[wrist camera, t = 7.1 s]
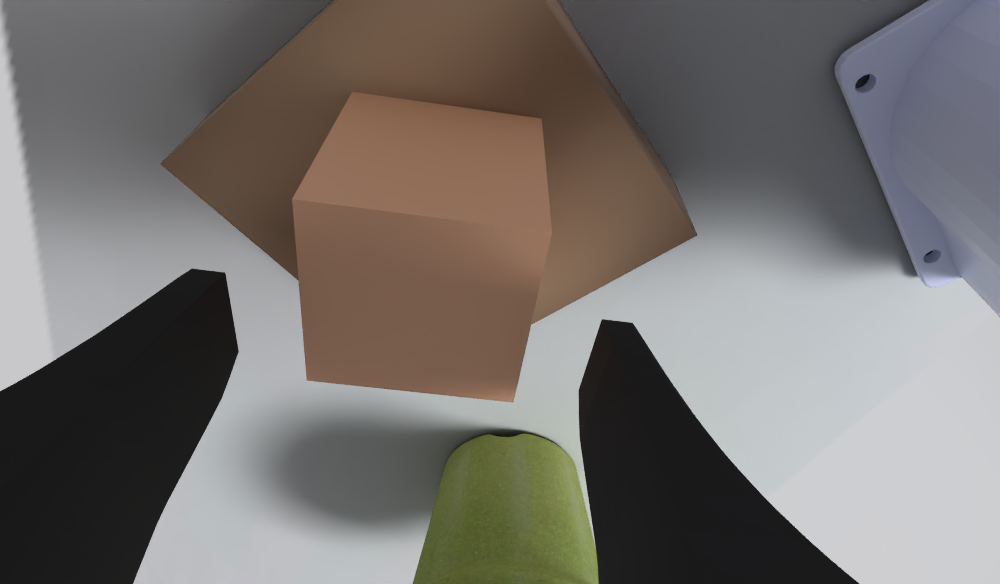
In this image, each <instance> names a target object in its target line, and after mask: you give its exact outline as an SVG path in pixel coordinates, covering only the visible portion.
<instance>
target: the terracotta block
mask: <svg viewBox="0 0 1000 584" xmlns="http://www.w3.org/2000/svg"><path fill="white" fill-rule="evenodd" d="M292 205H293V217H294V229H295V241H296V254H297V266H298V278H299V290H300V303H301V315H302V327H303V339H304V352H305V364H306V376H307V380H308V381H317V382H327V383H336V384H345V385H355V386H364V387H374V388H383V389H392V390H402V391H411V392H420V393H430V394H439V395H449V396H458V397H467V398H477V399H486V400H495V401H505V402H514V397H515V393H516V388H517V384H518V380H519V375H520V371H521V367H522V362H523V358H524V353H525V349H526V345H527V340H528V336H529V331H530V327H531V323H532V318H533V314H534V310H535V305H536V301H537V296H538V292H539V288H540V283H541V279H542V275H543V270H544V266H545V261H546V257H547V253H548V248H549V244H550V239H551V235H552V225H551V214H550V204H549V193H548V182H547V171H546V160H545V149H544V138H543V127H542V119H541V118H534V117H527V116H520V115H513V114H506V113H499V112H492V111H485V110H478V109H471V108H463V107H456V106H449V105H442V104H435V103H428V102H421V101H414V100H407V99H400V98H393V97H386V96H378V95H371V94H364V93H357V92H352V93H351V95H350V97H349V99H348V100H347V102H346V104H345V106H344V107H343V109H342V111H341V113H340V115H339V116H338V118H337V120H336V122H335V123H334V125H333V127H332V129H331V131H330V132H329V134H328V136H327V138H326V140H325V141H324V143H323V145H322V147H321V148H320V150H319V152H318V154H317V156H316V157H315V159H314V161H313V163H312V164H311V166H310V168H309V170H308V172H307V173H306V175H305V177H304V179H303V180H302V182H301V184H300V186H299V188H298V189H297V191H296V193H295V195H294V197H293V198H292Z"/></svg>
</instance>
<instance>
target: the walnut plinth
mask: <svg viewBox="0 0 1000 584" xmlns="http://www.w3.org/2000/svg"><path fill="white" fill-rule="evenodd" d="M352 92H357V93H364V94H371V95H378V96H386V97H393V98H400V99H407V100H414V101H421V102H428V103H435V104H442V105H449V106H456V107H463V108H471V109H478V110H485V111H492V112H499V113H506V114H513V115H520V116H527V117H534V118H541V119H542V127H543V138H544V149H545V160H546V171H547V182H548V193H549V204H550V214H551V225H552V235H551V239H550V244H549V248H548V253H547V257H546V261H545V266H544V270H543V275H542V279H541V283H540V288H539V292H538V296H537V301H536V305H535V310H534V314H533V318H532V323H531V324H533V323H535V322H537V321H539V320H541V319H543V318H544V317H546V316H548V315H550V314H552V313H554V312H556V311H557V310H559V309H561V308H563V307H565V306H567V305H569V304H570V303H572V302H574V301H576V300H578V299H580V298H582V297H583V296H585V295H587V294H589V293H591V292H593V291H595V290H596V289H598V288H600V287H602V286H604V285H606V284H608V283H609V282H611V281H613V280H615V279H617V278H619V277H621V276H622V275H624V274H626V273H628V272H630V271H632V270H634V269H635V268H637V267H639V266H641V265H643V264H645V263H647V262H648V261H650V260H652V259H654V258H656V257H658V256H660V255H661V254H663V253H665V252H667V251H669V250H671V249H673V248H674V247H676V246H678V245H680V244H682V243H684V242H686V241H687V240H689V239H691V238H693V237H695V236H697V233H696V231H695V229H694V226H693V224H692V222H691V219H690V217H689V215H688V212H687V210H686V208H685V205H684V203H683V201H682V198H681V196H680V194H679V191H678V189H677V187H676V184H675V182H674V180H673V179H672V177H671V176H670V174H669V173H668V171H667V169H666V168H665V166H664V165H663V163H662V162H661V160H660V158H659V157H658V155H657V154H656V152H655V151H654V149H653V148H652V146H651V144H650V143H649V141H648V140H647V138H646V137H645V135H644V133H643V132H642V130H641V129H640V127H639V126H638V124H637V122H636V121H635V119H634V118H633V116H632V115H631V113H630V112H629V110H628V108H627V107H626V105H625V104H624V102H623V101H622V99H621V97H620V96H619V94H618V93H617V91H616V90H615V88H614V86H613V85H612V83H611V82H610V80H609V79H608V77H607V76H606V74H605V72H604V71H603V69H602V68H601V66H600V65H599V63H598V61H597V60H596V58H595V57H594V55H593V54H592V52H591V50H590V49H589V47H588V46H587V44H586V43H585V41H584V39H583V38H582V36H581V35H580V33H579V32H578V30H577V29H576V27H575V25H574V24H573V22H572V21H571V19H570V18H569V16H568V14H567V13H566V11H565V10H564V8H563V7H562V5H561V3H560V2H559V0H332V1H331V2H330V3H329V4H328V5H327V6H326V7H325V8H324V9H323V10H322V11H321V12H319V13H318V14H317V15H316V16H315V17H314V18H313V19H312V20H311V21H310V22H309V23H308V24H306V25H305V26H304V27H303V28H302V29H301V30H300V31H299V32H298V33H297V34H296V35H295V36H293V37H292V38H291V39H290V40H289V41H288V42H287V43H286V44H285V45H284V46H283V47H282V48H281V49H279V50H278V51H277V52H276V53H275V54H274V55H273V56H272V57H271V58H270V59H269V60H268V61H266V62H265V63H264V64H263V65H262V66H261V67H260V68H259V69H258V70H257V71H256V72H255V73H254V74H252V75H251V76H250V77H249V78H248V79H247V80H246V81H245V82H244V83H243V84H242V85H241V86H239V87H238V88H237V89H236V90H235V91H234V92H233V93H232V94H231V95H230V96H229V97H228V98H227V99H225V100H224V101H223V102H222V103H221V104H220V105H219V106H218V107H217V108H216V109H215V110H214V111H212V112H211V113H210V114H209V115H208V116H207V117H206V118H205V119H204V120H203V121H202V122H201V123H200V124H199V125H198V126H197V127H196V128H195V129H194V130H193V131H192V132H191V133H190V134H189V135H188V136H187V137H186V138H185V139H184V140H183V141H182V142H181V143H180V144H179V145H178V146H177V148H176V149H175V150H174V151H173V152H172V153H171V154H170V155H169V156H168V157H167V158H166V159H165V160H164V161H163V162H162V163H161V165H162V166H164V167H165V168H166V169H167V170H168V171H169V172H171V173H172V174H173V175H174V176H175V177H177V178H178V179H179V180H180V181H181V182H182V183H184V184H185V185H186V186H187V187H188V188H190V189H191V190H192V191H193V192H194V193H196V194H197V195H198V196H199V197H200V198H201V199H203V200H204V201H205V202H206V203H207V204H209V205H210V206H211V207H212V208H213V209H214V210H216V211H217V212H218V213H219V214H220V215H222V216H223V217H224V218H225V219H226V220H227V221H229V222H230V223H231V224H232V225H233V226H235V227H236V228H237V229H238V230H239V231H240V232H242V233H243V234H244V235H245V236H246V237H248V238H249V239H250V240H251V241H252V242H254V243H255V244H256V245H257V246H258V247H259V248H261V249H262V250H263V251H264V252H265V253H267V254H268V255H269V256H270V257H271V258H272V259H274V260H275V261H276V262H277V263H278V264H280V265H281V266H282V267H283V268H284V269H285V270H287V271H288V272H289V273H290V274H291V275H293V276H294V277H295V278H296V279H297V280H298V281H299V278H298V266H297V254H296V241H295V229H294V217H293V205H292V198H293V197H294V195H295V193H296V191H297V189H298V188H299V186H300V184H301V182H302V180H303V179H304V177H305V175H306V173H307V172H308V170H309V168H310V166H311V164H312V163H313V161H314V159H315V157H316V156H317V154H318V152H319V150H320V148H321V147H322V145H323V143H324V141H325V140H326V138H327V136H328V134H329V132H330V131H331V129H332V127H333V125H334V123H335V122H336V120H337V118H338V116H339V115H340V113H341V111H342V109H343V107H344V106H345V104H346V102H347V100H348V99H349V97H350V95H351V93H352Z"/></svg>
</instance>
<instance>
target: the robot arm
mask: <svg viewBox="0 0 1000 584" xmlns="http://www.w3.org/2000/svg"><path fill="white" fill-rule="evenodd" d="M834 70H835V76H836V78H837V81H838V83H839V86H840V88H841V91H842V93H843V95H844V98H845V100H846V103H847V105H848V107H849V110H850V112H851V115H852V117H853V120H854V122H855V124H856V127H857V129H858V132H859V134H860V137H861V139H862V141H863V144H864V146H865V149H866V151H867V154H868V156H869V158H870V161H871V163H872V166H873V168H874V171H875V173H876V175H877V178H878V180H879V183H880V185H881V188H882V190H883V192H884V195H885V197H886V200H887V202H888V204H889V207H890V209H891V212H892V214H893V217H894V219H895V221H896V224H897V226H898V229H899V231H900V234H901V236H902V238H903V241H904V243H905V246H906V248H907V251H908V253H909V255H910V258H911V260H912V263H913V265H914V268H915V270H916V272H917V275H918V277H919V279H920V280H921V281H922V282H923V283H924V284H925V285H926V286H928V287H939V286H943V285H945V284H948V283H950V282H952V281H955V280H957V279H959V278H961V277H962V278H963V279H964V280H965V281H966V282H967V283H968V284H969V285H970V286H971V287H972V288H973V289H974V290H975V291H976V292H977V294H978V295H979V296H980V297H981V298H982V299H983V300H984V301H985V302H986V303H987V304H988V305H989V306H990V307H991V308H992V309H993V310H994V311H995V312H996V313H997V315H998V316H999V317H1000V0H929V1H927V2H925V3H924V4H922V5H920V6H919V7H917V8H915V9H914V10H912V11H910V12H909V13H907V14H905V15H904V16H902V17H900V18H899V19H897V20H896V21H894V22H892V23H891V24H889V25H887V26H886V27H884V28H882V29H881V30H879V31H877V32H876V33H874V34H872V35H871V36H869V37H867V38H866V39H864V40H862V41H861V42H859V43H857V44H856V45H854V46H852V47H851V48H849V49H848V50H846V51H845V52H844V53H843V54H841V56H840V57H839V59H838V60H837V62H836V65H835V69H834ZM867 74H869V80H868V81H867V83H866V84H865V85H864V86H862V87H860V88H855V85H856V83H857V81H858V79H860V78H861V77H862V76H864V75H867ZM930 251H933V252H932V253H930V254H929V255H927V256H925V255H926V254H927V253H928V252H930ZM238 352H239V351H238V345H237V339H236V333H235V327H234V322H233V316H232V310H231V304H230V298H229V292H228V286H227V280H226V275H225V273H223V272H215V271H206V270H198V269H191V270H189V271H188V272H186V273H185V274H183V275H182V276H180V277H179V278H177V279H176V280H174V281H173V282H171V283H170V284H169V285H167V286H166V287H164V288H163V289H161V290H160V291H159V292H157V293H156V294H154V295H153V296H152V297H150V298H149V299H147V300H146V301H144V302H143V303H142V304H140V305H139V306H137V307H136V308H134V309H133V310H131V311H130V312H128V313H127V314H126V315H124V316H123V317H121V318H120V319H118V320H117V321H115V322H114V323H112V324H111V325H109V326H108V327H106V328H105V329H103V330H102V331H101V332H99V333H97V334H96V335H94V336H93V337H91V338H90V339H88V340H86V341H85V342H83V343H82V344H80V345H78V346H77V347H75V348H74V349H72V350H70V351H69V352H67V353H65V354H64V355H62V356H61V357H59V358H57V359H56V360H54V361H53V362H51V363H49V364H48V365H46V366H44V367H43V368H41V369H40V370H38V371H36V372H34V373H33V374H31V375H29V376H28V377H26V378H24V379H22V380H20V381H18V382H17V383H15V384H13V385H11V386H10V387H8V388H6V389H4V390H2V391H0V584H133V582H134V580H135V577H136V574H137V572H138V569H139V567H140V564H141V562H142V560H143V557H144V555H145V552H146V550H147V547H148V545H149V542H150V540H151V537H152V535H153V532H154V530H155V527H156V525H157V523H158V520H159V518H160V516H161V514H162V512H163V510H164V508H165V506H166V504H167V502H168V499H169V498H170V496H171V494H172V492H173V490H174V488H175V486H176V484H177V483H178V481H179V479H180V477H181V475H182V473H183V471H184V469H185V467H186V466H187V464H188V462H189V460H190V458H191V456H192V454H193V452H194V450H195V449H196V447H197V445H198V443H199V441H200V439H201V437H202V435H203V433H204V432H205V430H206V428H207V426H208V424H209V422H210V420H211V418H212V416H213V414H214V412H215V410H216V408H217V406H218V404H219V402H220V400H221V399H222V396H223V393H224V391H225V388H226V385H227V383H228V380H229V378H230V375H231V372H232V369H233V366H234V363H235V360H236V357H237V355H238ZM579 429H580V442H581V450H582V457H583V464H584V471H585V477H586V484H587V491H588V497H589V504H590V511H591V517H592V524H593V531H594V537H595V545H596V554H597V564H598V582H599V584H859V583H858V582H856V581H855V580H854V579H853V578H852V577H850V576H849V575H848V574H847V573H845V572H844V571H843V570H842V569H841V568H840V567H838V566H837V565H836V564H835V563H834V562H832V561H831V560H830V559H829V558H828V557H827V556H825V555H824V554H823V553H822V552H821V551H820V550H819V549H818V548H817V547H816V546H814V545H813V544H812V543H811V542H810V541H809V540H808V539H806V537H805V536H804V535H802V534H801V533H800V532H799V531H798V530H797V529H796V528H795V527H794V526H793V525H792V524H791V523H790V522H789V521H788V520H787V519H785V517H783V516H782V515H781V514H780V513H779V512H778V511H777V510H776V509H775V508H774V507H773V506H772V505H771V504H770V503H769V502H768V501H767V500H766V499H765V498H764V497H763V496H762V495H761V493H760V492H759V491H758V490H757V489H756V488H755V487H754V486H753V485H752V484H751V483H750V482H749V480H748V479H747V478H746V477H745V476H744V475H743V474H742V473H741V472H740V471H739V470H738V468H737V467H736V466H735V465H734V464H733V463H732V462H731V460H730V459H729V458H728V457H727V456H726V455H725V453H724V452H723V451H722V450H721V449H720V447H719V446H718V445H717V444H716V442H715V441H714V440H713V439H712V437H711V436H710V435H709V434H708V432H707V431H706V430H705V429H704V427H703V426H702V425H701V423H700V422H699V421H698V419H697V418H696V417H695V415H694V414H693V412H692V411H691V410H690V408H689V407H688V405H687V404H686V403H685V401H684V400H683V398H682V397H681V396H680V394H679V393H678V391H677V390H676V388H675V387H674V386H673V384H672V383H671V381H670V380H669V378H668V377H667V375H666V374H665V372H664V371H663V369H662V368H661V366H660V364H659V363H658V361H657V360H656V358H655V357H654V355H653V354H652V352H651V351H650V349H649V347H648V346H647V344H646V343H645V341H644V340H643V338H642V336H641V335H640V333H639V332H638V330H637V329H636V327H635V326H634V324H633V323H628V322H620V321H612V320H604V319H602V321H601V324H600V327H599V330H598V333H597V336H596V339H595V342H594V345H593V348H592V352H591V355H590V358H589V361H588V364H587V367H586V370H585V373H584V376H583V379H582V382H581V385H580V388H579Z"/></svg>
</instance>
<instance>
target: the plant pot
mask: <svg viewBox="0 0 1000 584" xmlns="http://www.w3.org/2000/svg"><path fill="white" fill-rule="evenodd" d="M413 584H599V582H598V564H597V554H596V548H595V544H594V540H593V536H592V532H591V528H590V523H589V519H588V515H587V511H586V507H585V503H584V498H583V494H582V490H581V486H580V482H579V478H578V474H577V470H576V467H575V464H574V462H573V460H572V458H571V457H570V456H569V455H568V453H567V452H566V451H564V450H563V449H562V448H561V447H559V446H558V445H556V444H555V443H553V442H551V441H549V440H546V439H544V438H541V437H538V436H535V435H530V434H520V435H517V436H513V437H497V436H493V435H490V434H488V435H483V436H479V437H476V438H474V439H472V440H469V441H467V442H466V443H464V444H462V445H461V446H459V447H458V448H457V449H456V450H455V451H454V452H453V453H452V454H451V455H450V457H449V458H448V460H447V462H446V464H445V467H444V471H443V475H442V478H441V481H440V485H439V489H438V493H437V497H436V501H435V505H434V509H433V512H432V516H431V520H430V524H429V528H428V531H427V535H426V538H425V542H424V545H423V549H422V552H421V556H420V560H419V563H418V567H417V570H416V574H415V578H414V581H413Z"/></svg>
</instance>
